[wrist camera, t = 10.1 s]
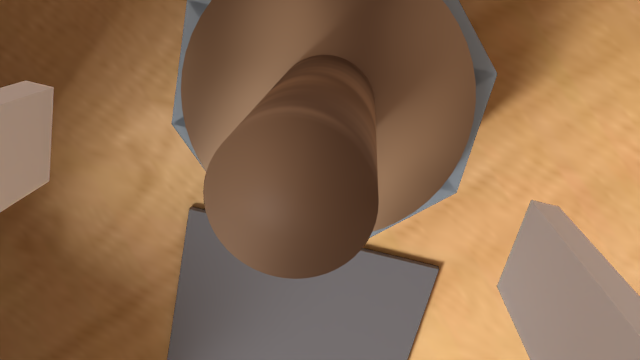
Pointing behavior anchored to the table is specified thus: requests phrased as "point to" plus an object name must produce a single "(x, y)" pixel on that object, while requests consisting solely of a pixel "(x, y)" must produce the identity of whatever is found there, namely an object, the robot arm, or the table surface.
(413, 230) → the table surface
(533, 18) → the table surface
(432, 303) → the table surface
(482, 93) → the bowl
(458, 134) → the lid
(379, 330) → the mat
